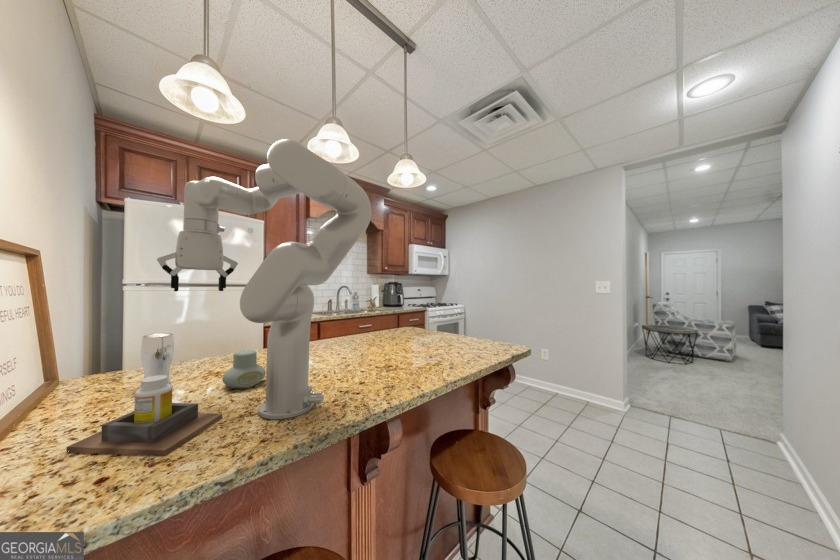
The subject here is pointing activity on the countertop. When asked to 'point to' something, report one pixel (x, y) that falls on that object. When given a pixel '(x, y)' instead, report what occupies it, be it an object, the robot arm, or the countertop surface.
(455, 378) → the countertop surface
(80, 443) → the tray
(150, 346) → the beer glass
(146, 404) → the supplement bottle
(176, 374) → the countertop surface
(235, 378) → the air freshener
